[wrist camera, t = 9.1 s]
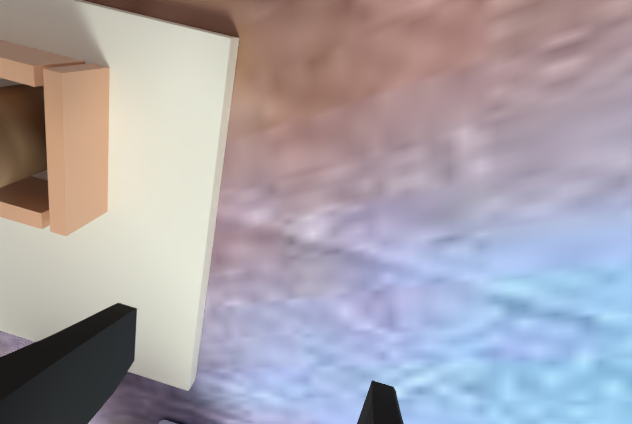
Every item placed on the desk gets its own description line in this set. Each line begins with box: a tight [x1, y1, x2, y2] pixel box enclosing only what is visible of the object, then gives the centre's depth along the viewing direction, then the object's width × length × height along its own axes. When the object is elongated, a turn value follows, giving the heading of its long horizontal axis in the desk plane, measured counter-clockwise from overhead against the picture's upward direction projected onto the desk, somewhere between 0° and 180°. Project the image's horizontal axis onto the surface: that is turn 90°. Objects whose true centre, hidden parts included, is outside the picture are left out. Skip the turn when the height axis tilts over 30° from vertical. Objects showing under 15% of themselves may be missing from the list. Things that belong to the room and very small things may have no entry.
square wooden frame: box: [0, 40, 110, 236], centre depth 20 cm, size 7×7×3 cm
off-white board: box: [0, 0, 239, 391], centre depth 23 cm, size 20×14×1 cm
